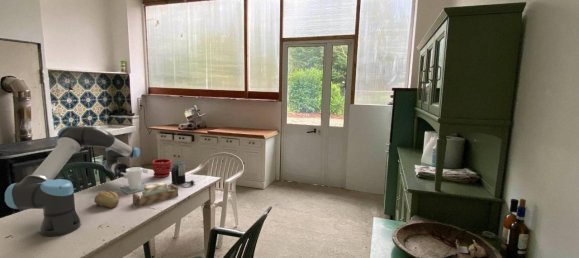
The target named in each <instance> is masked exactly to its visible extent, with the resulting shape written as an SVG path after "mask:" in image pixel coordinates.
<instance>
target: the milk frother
mask: <svg viewBox="0 0 579 258" xmlns="http://www.w3.org/2000/svg"><path fill="white" fill-rule="evenodd" d="M170 174H171V175H170V176H171V184H173V185H175V186H177V185H183V184H190V185H193V184H194V183H196V182H195V181H194V179H193V180H190V181H186V162H185V161H182V160H179V161H173V162H171V169H170Z"/></svg>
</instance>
